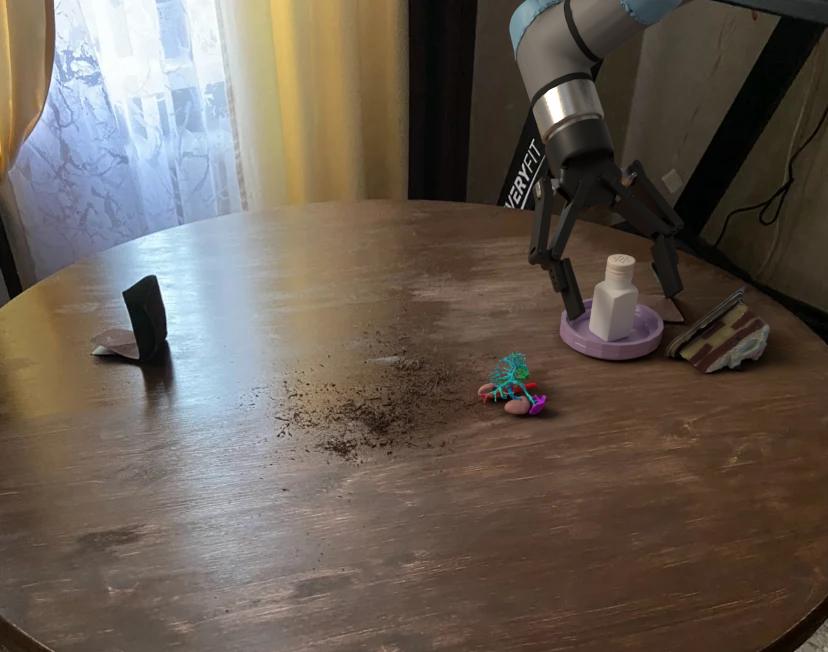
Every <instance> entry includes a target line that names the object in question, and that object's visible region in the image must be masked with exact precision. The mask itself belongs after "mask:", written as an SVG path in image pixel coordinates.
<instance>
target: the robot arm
mask: <svg viewBox="0 0 828 652" xmlns="http://www.w3.org/2000/svg"><path fill="white" fill-rule="evenodd" d="M693 1H695V0H525V1H523V2H522V3H521V4H520V5H519V6H518V7H517V8H516V10H515V11H514V12H513V14H512V16H511V18H510V22H509V35H510V39H511V43H512V47H513V52H514V60H515V63H517V66H518V69H519V72H520V74H521V77H522V81H523V83H524V86H525V89H526V92H527V96H528V99H529V101H530V105H531V109H532V113H533V116H534V119H535V122H536V125H537V128H538V132H539V134H540V138H541V141H542V144H543V145H544V146H545V147H544V153H545V156H546V159H547V162H548V166H549V169H550V173H551V175H552V176H553V177H554V178H551V177H550V175H548V174H543V175H542V176H541V177H540V178H539V180H538V181H537V182H536V183H535V184H534V185H533V187H532V193H533V199H534V205H535V206H534V214H533V218H532V226H531V235H530V243H529V249H528V257H527V262H528V263H529V265H532V266H536V265H540V268H541V269H542V270H543V271H547V272H548V275H549V276H548V277H549V279H550V281H551V282H550V283H551V285H552V288H553V291H554V292H555V294H559V293H560V296H561V299H562V302H563V304H564V309H566V312H567V315H568V318H569V321H573V320H576V319H577V318H578V317H580V316H581V315H582V314H584V313H585V312H586V310H585V307H584V304H583V300H584V299H583V297H582V295H581V291H580V288H579V284H578V281H577V278H576V275H575V271H574V268H573V265H572V262H571V259H570V257H564V258H563V257H562V256H563V254H564V252H565V249H566V246H567V244H568V241H569V239H570V237H571V234H572V231H573V229H574V226H575V224H576V222H577V219H578V217H579V214H580V213H581V215H587V214H590V213H591V212H603V211H605V210H606V209H607V210H609V212H611V213H614V214H617V215H619V216H620V217H621V218H623V219H624V220H625V221H626V222H628V223H629V224H630V225H631V226H633V227H634V228H635V229H636V230H638V231H639V232H640V233H641V234H643V236H645V237H646V238H648V239H649V240H650V241H651V242H652V243H654V244H653V245H652V246H651V247H649V249H650V253H651V257H652V259H653V262H654V265H655V269H656V272H657V275H658V279H659V282H660V284H661V288H662V291H663V295H664V298H665V300H668V299H672V298H673V297H674V296H676V295H678V294H680V293H681V292H682V291H684V290H685V288H684V285H683V281H682V279H681V275H680V271H679V269H678V266H677V265H679V264H680V257H679V254H678V252H677V251H678V250H677V248H676V244H675V241H674V236H675V235H676V234H678V233H679V232H680V231H681V230H682V229H684V227H685V222H684V221H683V220H682V218H681V217H680V216H679V214H678V213H677V212H676V211H675V210H674V208H673V207H672V206H671V205H670V203H669V202H668V200H666V199H665V197H664V196H663V195H662V193H661V192H660V191H659V190H658V188H657V187H656V186H655V185H654V184H653V182H652V181H651V180H650V178H649V177H648V176H647V174H646V171H645V169H644V166H643V164H642V162H641V161H640V160H639V159H634V160H633V161H632V162H631V163H630V164H628V165H626V166H622V167H620V166H619V165H618V164H617V162H616V160H615V147H614V144H613V143H614V142H613V140H612V137H611V134H610V131H609V127H608V124H607V122H606V121H605V120H604V118H605V113H604V109H603V107H602V104H601V101H600V98H599V94H598V92H597V89H596V86H595V83H594V80H593V76H592V72H591V68H593V66H595V65H596V64H599V63H600V62H602V61H603V60H604V59H605V58H606V57H608V56H609V55H610V54H612V53H614V52H615V51H616V50H618V49H619V48H621V47H622V46H624V45H625V44H627V43H628V42H630V41H632V40H633V39H634V38H636V37H637V36H639V35H640V34H641V33H643V32H644V31H646V30H647V29H649V28H650V27H651V26H653V25H656V24H658V23H660V21H661V20H663V19H664V18H665V17H667V16H668V14H669V13H671V12H673V11H674V10H677V9H679V8H681V7H683V6H685V5H687V4H689V3H691V2H693ZM556 194H557V195H559V196H560V197H561V198H562V199H563V200H564V201H565V203H564V206H563V208H562V210H561V213H560V215H559V216H560V218H559V221H558V223H557V225H556V228H555V230H554V233H553V235H552V238H551V240H550V243H549V236H550V228H551V222H552V215H553V207H554V197H555V196H556ZM617 196H618V198H617ZM616 198H617V199H616ZM548 244H549V245H548Z"/></svg>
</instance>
